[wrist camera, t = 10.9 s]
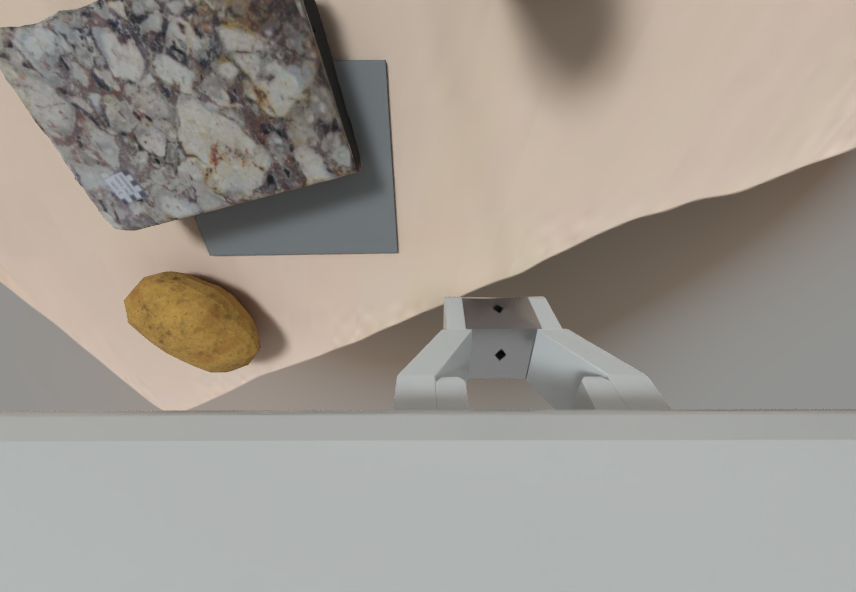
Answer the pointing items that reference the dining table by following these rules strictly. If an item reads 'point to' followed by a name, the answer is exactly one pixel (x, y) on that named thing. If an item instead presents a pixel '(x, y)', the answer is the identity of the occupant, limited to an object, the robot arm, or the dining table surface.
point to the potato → (193, 321)
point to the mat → (324, 191)
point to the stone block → (184, 102)
